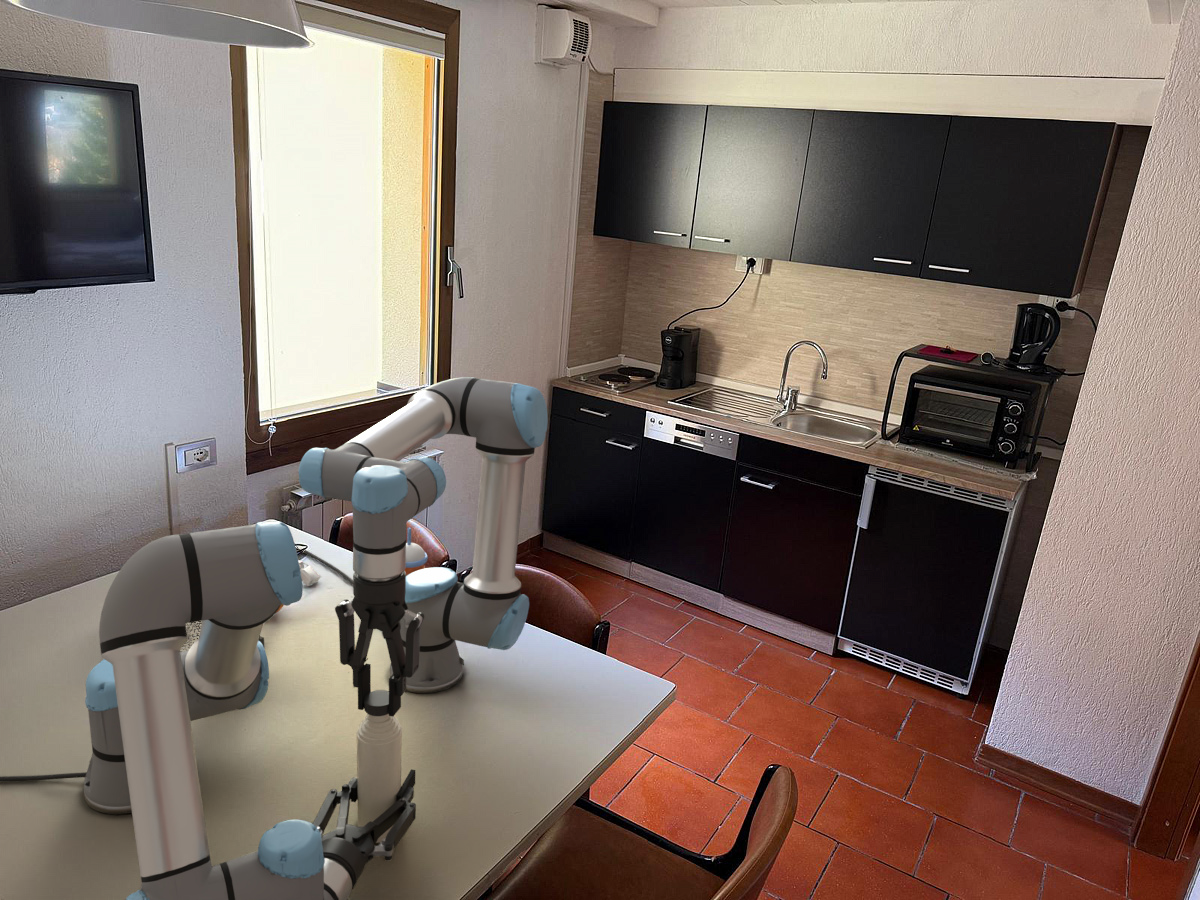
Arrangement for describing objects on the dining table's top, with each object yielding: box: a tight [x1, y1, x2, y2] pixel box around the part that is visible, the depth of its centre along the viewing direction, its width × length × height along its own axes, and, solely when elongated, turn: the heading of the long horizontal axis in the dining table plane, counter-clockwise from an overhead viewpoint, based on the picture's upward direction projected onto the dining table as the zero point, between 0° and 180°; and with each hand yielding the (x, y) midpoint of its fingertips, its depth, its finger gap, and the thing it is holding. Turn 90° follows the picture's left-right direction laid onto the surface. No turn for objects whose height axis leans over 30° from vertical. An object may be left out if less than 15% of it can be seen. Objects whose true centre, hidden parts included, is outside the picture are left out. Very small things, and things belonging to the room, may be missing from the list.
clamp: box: [298, 559, 322, 587], centre depth 219 cm, size 20×4×7 cm, turn 62°
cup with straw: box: [404, 527, 429, 576], centre depth 213 cm, size 9×9×18 cm
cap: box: [363, 689, 389, 716], centre depth 132 cm, size 5×5×2 cm
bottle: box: [356, 713, 403, 844], centre depth 135 cm, size 7×7×24 cm
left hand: (391, 772), depth 142 cm, fingers closed on bottle, 7 cm apart
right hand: (379, 707), depth 132 cm, fingers closed on cap, 4 cm apart
